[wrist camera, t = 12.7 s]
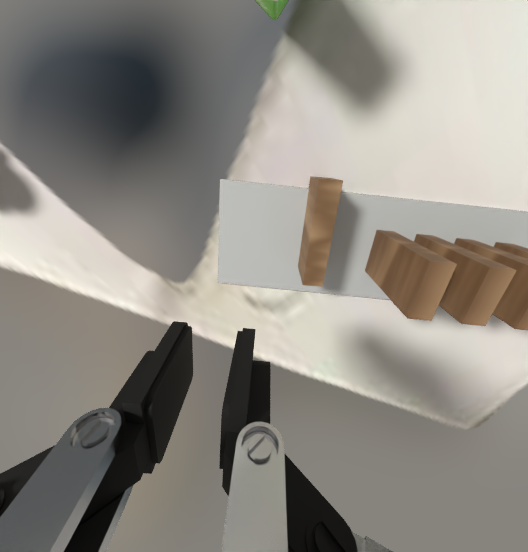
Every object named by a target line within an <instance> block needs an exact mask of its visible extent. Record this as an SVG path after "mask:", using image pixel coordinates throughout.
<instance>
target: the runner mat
mask: <svg viewBox="0 0 528 552" xmlns="http://www.w3.org/2000/svg"><path fill="white" fill-rule="evenodd" d="M308 191H309V188H300V187H290V186H281V185H272V184H262V183H253V182H243V181H234V180H224V179H220V208H219V253H218V283H226V284H236V285H247V286H257V287H267V288H277V289H287V290H297V291H307V292H317V293H327V294H337V295H347V296H357V297H367V298H377V299H387V300H390V298H389V297H388V296H387V295H386V294H385V293H384V292H383V291H382V290H381V288H380V287H379V286H378V285H377V284H376V283H375V282H374V281H373V280H372V278H371V277H370V276H369V275H368V274H367V273H366V272H365V268H366V265H367V261H368V258H369V254H370V251H371V248H372V244H373V241H374V237H375V234H376V230H385V231H394V232H396V233H398V234H400V235H402V236H404V237H406V238H408V239H410V240H412V241H414V240H415V237H416V234H423V235H433V236H436V237H439V238H441V239H443V240H446V241H448V242H451V243H453V244H454V242H455V240H456V238H462V239H471V240H476V241H479V242H482V243H484V244H487V245H490V246H493V247H494V245H495V243H496V242H500V243H510V244H515V245H519V246H522V247H525V248H528V212H526V211H517V210H507V209H498V208H488V207H479V206H469V205H460V204H451V203H441V202H432V201H422V200H413V199H403V198H394V197H385V196H375V195H366V194H356V193H347V192H341V194H340V199H339V204H338V209H337V214H336V220H335V225H334V230H333V235H332V240H331V246H330V251H329V256H328V261H327V266H326V271H325V277H324V282H323V287H319V286H307V285H303V284H302V281H301V277H300V273H299V269H298V262H299V255H300V248H301V241H302V233H303V226H304V219H305V212H306V205H307V198H308Z"/></svg>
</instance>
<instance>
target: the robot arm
mask: <svg viewBox="0 0 528 552" xmlns="http://www.w3.org/2000/svg"><path fill="white" fill-rule="evenodd" d="M254 339H255V329H247V328H243V331H238V333H237V338H236V343H235V348H234V353H233V358H232V363H231V368H230V373H229V378H228V383H227V388H226V392H225V397H224V403H223V409H222V419H221V445H220V469H223V485H222V486H223V488H224V490H225V492H226V493H227V495H228V496H229V499H228V506H227V513H226V520H225V528H224V535H223V542H222V549H221V552H392V551H391V550H389V549H387V548H386V547H384V546H382V545H381V544H379V543H377V542H375V541H374V540H372V539H370V538H369V537H367V536H366V537H365V538H362V537H360V536H359V535H357V534H355V533H353V532H352V531H351V529H350V528H349V526H348V525H347V523H346V522H345V521H344V519H343V518H342V517H341V516H340V515H339V514H338V512H337V511H336V510H335V509H334V508H333V507H332V506H331V505H330V503H328V501H327V500H326V499H325V498H324V497H323V496H322V495H321V494H320V492H319V491H318V490H317V489H316V488H315V487H314V486H313V485H312V484H311V482H310V481H309V480H308V479H307V478H306V477H305V476H304V475H303V474H302V472H301V471H300V470H299V469H298V468H297V467H296V466H295V465H294V464H293V462H292V461H291V460H290V459H289V458H288V457H287V456H286V455H285V453H284V443H283V439H282V437H281V435H280V433H279V432H278V430H277V429H276V428H275V427H274V426H272V425H270V362H264V361H253V360H252V359H253V349H254ZM192 354H193V353H192V327H191V326H188V324H187V323H185V322H175V321H174V322H173V323H172V324H171V326H170V327H169V329H168V331H167V332H166V334H165V335H164V337H163V338H162V340H161V342H160V343H159V345H158V346H157V348H156V349H155V351H148V352H147V353H146V354H145V355H144V357H143V358H142V360H141V361H140V363H139V364H138V366H137V367H136V369H135V370H134V371H133V373H132V374H131V376H130V377H129V379H128V380H127V382H126V383H125V385H124V386H123V388H122V389H121V391H120V392H119V394H118V395H117V397H116V398H115V400H114V401H113V403H112V404H111V406H110V407H109V408H99V409H96V410H92V411H90V412H88V413H86V414H84V415H82V416H81V417H80V418H78V419H77V420H75V421H74V422H73V424H72V425H71V426H70V427H69V428H68V429H67V431H66V432H65V433H64V434H63V436H62V437H61V438H60V440H59V441H58V442H57V444H56V445H55V446H53V447H51V448H49V449H47V450H45V451H43V452H42V453H39V454H37V455H35V456H34V457H32V458H30V459H28V460H26V461H24V462H23V463H20V464H18V465H17V466H15V467H13V468H11V469H9V470H7V471H5V472H3V473H1V474H0V552H106V551H107V548H108V546H109V543H110V541H111V539H112V536H113V534H114V532H115V529H116V527H117V524H118V522H119V520H120V517H121V515H122V513H123V510H124V508H125V505H126V503H127V500H128V498H129V496H130V493H131V491H132V488H133V485H134V484H135V483H136V482H138V481H139V480H140V479H141V477H142V475H143V473H150V474H151V473H152V471H153V469H154V466H155V464H156V463H160V462H161V461H162V459H163V456H164V453H165V450H166V448H167V445H168V442H169V440H170V437H171V435H172V432H173V429H174V426H175V424H176V421H177V418H178V416H179V413H180V410H181V408H182V405H183V402H184V399H185V397H186V394H187V392H188V389H189V386H190V384H191V381H192V377H193V355H192Z"/></svg>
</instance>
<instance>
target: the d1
mask: <svg viewBox="0 0 528 552" xmlns="http://www.w3.org/2000/svg"><path fill="white" fill-rule="evenodd" d="M494 247H496V248H498V249H501V250H504V251H507V252H510V253H512V254H515V255H518V256H521V257H523V258H526V259H528V248H525V247H522V246H519V245H515V244H510V243H500V242H496V243H495V245H494Z"/></svg>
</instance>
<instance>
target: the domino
mask: <svg viewBox="0 0 528 552" xmlns="http://www.w3.org/2000/svg"><path fill="white" fill-rule="evenodd" d="M342 183H343V180H337V179H332V178H322V177H310V184H309V191H308V198H307V205H306V212H305V219H304V226H303V233H302V241H301V248H300V255H299V262H298V269H299V273H300V277H301V281H302V284H303V285H307V286H319V287H323V282H324V277H325V271H326V266H327V261H328V256H329V251H330V246H331V240H332V235H333V230H334V225H335V220H336V214H337V209H338V204H339V199H340V194H341V189H342Z"/></svg>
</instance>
